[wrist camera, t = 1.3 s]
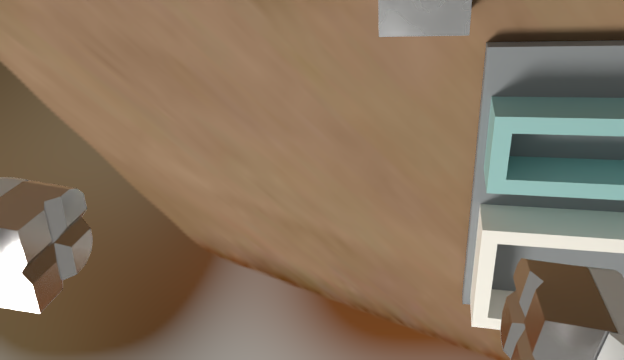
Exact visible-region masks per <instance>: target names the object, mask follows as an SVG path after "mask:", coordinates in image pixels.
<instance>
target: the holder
mask: <svg viewBox="0 0 624 360" xmlns="http://www.w3.org/2000/svg"><path fill="white" fill-rule="evenodd" d="M521 258H525V259H532V260H540V261H547V262H554V263H561V264H568V265H576V266H587V267H595V268H603V269H612V270H616V271H618V272H619V273H621V274H622V276H623V278H624V40H615V41H542V42H486V52H485V63H484V73H483V84H482V94H481V105H480V115H479V126H478V136H477V146H476V157H475V167H474V178H473V188H472V199H471V209H470V220H469V230H468V241H467V251H466V262H465V272H464V283H463V293H462V299H463V304H470V305H471V326H472V327H481V328H490V329H499V330H501V319H502V311H503V308H504V304H505V301H506V297H507V296H508V295H510V294H511V293H513V292H514V291H516V287H515V283H514V279H513V275H514V272H515V269H516V266H517V264H518V262H519V261H520V259H521Z"/></svg>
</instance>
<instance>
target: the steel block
mask: <svg viewBox="0 0 624 360" xmlns="http://www.w3.org/2000/svg"><path fill="white" fill-rule="evenodd" d="M378 2H379V37H398V36H460V35H469V31H470V19H471V6H472V0H378Z"/></svg>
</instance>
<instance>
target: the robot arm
mask: <svg viewBox="0 0 624 360" xmlns="http://www.w3.org/2000/svg"><path fill="white" fill-rule="evenodd" d="M86 210H87V206H86V202H85V197H84V194H83V193H82V192H81V191H79V190H78V189H76V188H71V187H66V186H60V185H54V184H48V183H43V182H37V181H29V180H26V179H20V178H13V177H0V307H3V308H9V309H15V310H22V311H27V312H34V313H41V312H42V311H43V310H44V309H45V308H46V307H47V306H48V304H49V303H50V302H51V301H52V300H53V299H54V298H55V297H56V296H57V295H58V294H59V293H60V292H61V291H62V289H63V283H62V280H64V279H67V278H69V277H71V276H74V275H76V274H77V273H78V272H79V271H80V270H81V269H82V268H83V267H84V266H85V264H86V262H87V260H88V258H89V255H90V253H91V250H92V233H91V228H90V227H89V225H88V224H87V223H86V222H85V221H84V219H83V218H82V216H83V214H84V213H85V211H86ZM513 279H514V283H515V287H516V291H514V292H513V293H511V294H510V295H508V296H507V297H506V301H505V304H504V308H503V311H502V319H501V341H502V348H503V351H504V352H505V353H506V354H507V355H508V356H509V357H510V358H511V360H624V278H623V276H622V274H621V273H619V272H618V271H616V270H612V269H603V268H595V267H587V266H576V265H568V264H561V263H554V262H547V261H540V260H532V259H525V258H521V259H520V261H519V262H518V264H517V266H516V269H515V272H514V275H513Z"/></svg>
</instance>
